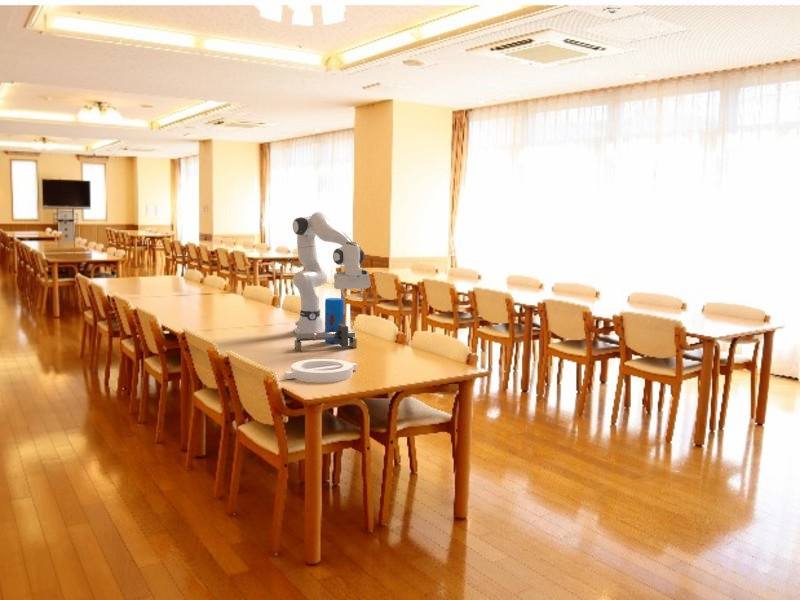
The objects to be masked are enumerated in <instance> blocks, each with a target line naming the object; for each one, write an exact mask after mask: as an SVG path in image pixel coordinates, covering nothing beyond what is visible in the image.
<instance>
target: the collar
mask: <svg viewBox="0 0 800 600" xmlns="http://www.w3.org/2000/svg"><path fill="white" fill-rule="evenodd" d="M348 331H349V326H347V325H346V324H345V323H344V324H337V332H341V339H337V343H338V344H337V345H339V346H341V347H343V348H346V347H349V338H348Z"/></svg>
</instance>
